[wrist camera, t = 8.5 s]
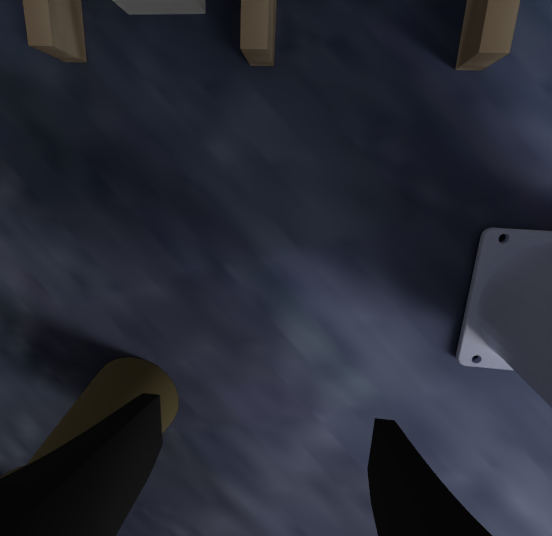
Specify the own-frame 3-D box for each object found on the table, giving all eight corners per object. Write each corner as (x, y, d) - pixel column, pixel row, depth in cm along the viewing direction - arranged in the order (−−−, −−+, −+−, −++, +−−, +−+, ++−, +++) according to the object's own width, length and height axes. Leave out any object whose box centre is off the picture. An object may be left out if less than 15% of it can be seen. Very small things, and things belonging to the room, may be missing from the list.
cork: (79, 370, 24) (-110, 528, 13) (155, 346, 23) (17, 499, 12) (118, 441, 25) (-25, 637, 14) (192, 422, 24) (96, 620, 13)
